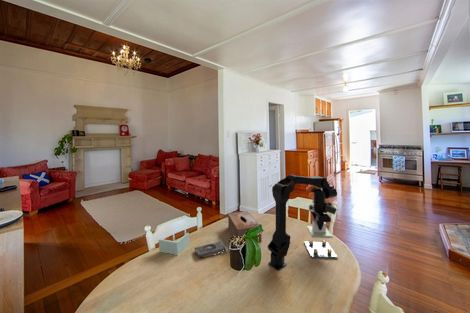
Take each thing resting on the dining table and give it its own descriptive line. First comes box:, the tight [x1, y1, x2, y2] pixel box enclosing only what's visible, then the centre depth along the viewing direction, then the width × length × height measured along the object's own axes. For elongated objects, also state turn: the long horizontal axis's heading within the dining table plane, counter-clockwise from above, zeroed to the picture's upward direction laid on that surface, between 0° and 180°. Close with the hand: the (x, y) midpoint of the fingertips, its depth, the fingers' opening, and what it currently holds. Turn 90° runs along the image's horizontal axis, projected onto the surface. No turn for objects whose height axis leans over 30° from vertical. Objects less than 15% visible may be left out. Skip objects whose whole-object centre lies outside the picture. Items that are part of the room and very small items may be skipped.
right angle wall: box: [158, 232, 190, 256], centre depth 123 cm, size 12×12×8 cm
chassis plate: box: [304, 239, 338, 260], centre depth 116 cm, size 15×13×3 cm
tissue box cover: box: [227, 210, 263, 243], centre depth 138 cm, size 26×14×10 cm, turn 14°
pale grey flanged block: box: [306, 219, 333, 239], centre depth 115 cm, size 12×10×6 cm
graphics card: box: [194, 238, 229, 258], centre depth 120 cm, size 17×4×12 cm
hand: (318, 228), depth 115 cm, fingers closed on pale grey flanged block, 4 cm apart
